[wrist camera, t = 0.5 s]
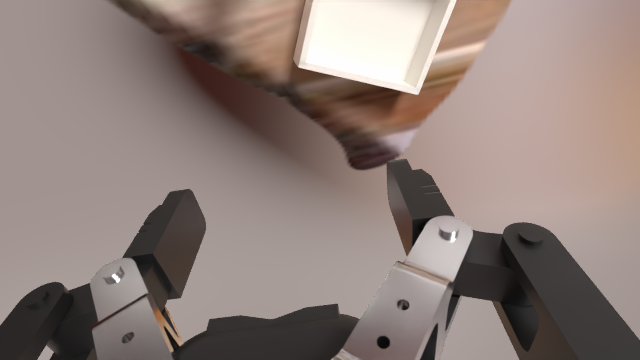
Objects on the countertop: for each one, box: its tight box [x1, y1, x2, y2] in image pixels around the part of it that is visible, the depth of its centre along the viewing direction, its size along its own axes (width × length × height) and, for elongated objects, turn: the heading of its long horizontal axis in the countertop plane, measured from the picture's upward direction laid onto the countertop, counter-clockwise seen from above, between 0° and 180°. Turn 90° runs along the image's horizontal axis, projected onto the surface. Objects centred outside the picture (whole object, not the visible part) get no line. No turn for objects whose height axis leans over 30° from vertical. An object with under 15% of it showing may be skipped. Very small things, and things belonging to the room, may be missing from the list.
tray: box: [293, 0, 456, 95], centre depth 31 cm, size 13×11×4 cm
